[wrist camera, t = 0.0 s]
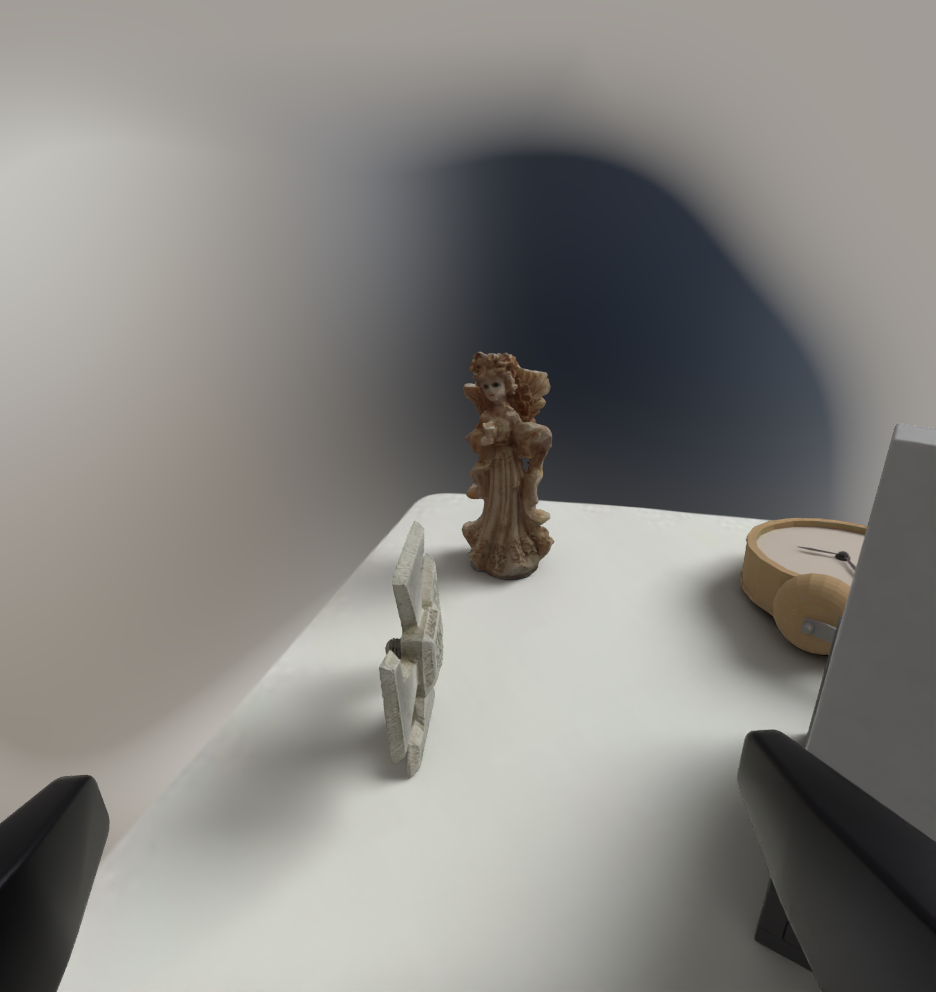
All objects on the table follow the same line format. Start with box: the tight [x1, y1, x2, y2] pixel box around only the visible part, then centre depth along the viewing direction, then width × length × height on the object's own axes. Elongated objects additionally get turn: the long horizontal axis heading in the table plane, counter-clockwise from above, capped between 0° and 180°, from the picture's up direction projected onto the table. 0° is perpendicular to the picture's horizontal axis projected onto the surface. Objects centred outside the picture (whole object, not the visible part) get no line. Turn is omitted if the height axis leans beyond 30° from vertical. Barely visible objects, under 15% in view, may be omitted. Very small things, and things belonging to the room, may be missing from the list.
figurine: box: [462, 352, 554, 579], centre depth 43 cm, size 7×6×15 cm
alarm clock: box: [740, 518, 867, 655], centre depth 39 cm, size 11×5×15 cm
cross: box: [379, 521, 443, 779], centre depth 30 cm, size 10×3×10 cm, turn 174°
